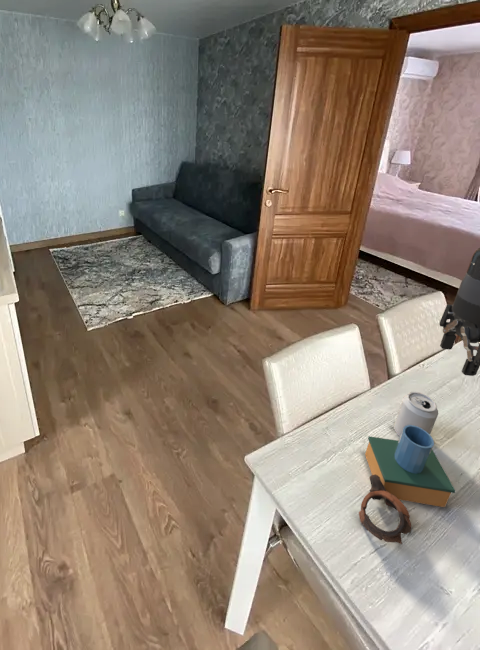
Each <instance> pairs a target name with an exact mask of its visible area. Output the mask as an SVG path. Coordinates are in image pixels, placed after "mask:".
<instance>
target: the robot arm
mask: <svg viewBox="0 0 480 650" xmlns="http://www.w3.org/2000/svg"><path fill="white" fill-rule="evenodd" d="M448 320H449V321H448ZM439 326H440V327H442V333H443V335H442V337H441V341H440V345H439V347H440V348H441V349H442V350H452V349H453V347H454V344H455V342H456V339H457V336H458V337H460V339H461V341H462V343H463V349H465V350H466V357H467V358H466V359H465V361H464V364H463V367H462V368H461V373H462V374H463V375H464V376H469V377H473V376H476V375H477V373H478V372H479V369H480V247H478V248H477V249H475V250H474V252H473V253H472V256H471V259H470V262H469V264H468V266H467V269H466V272H465V275H464V276H463V278H462V280H461V282H460V284H459V287H458V290H457V293H456V295H455V297H454V301H453V304H446V306H445V309H444V311H443V313H442V316H441V318H440V320H439ZM477 343H478V345H472V344H477ZM474 351H476V353H475V354H474Z"/></svg>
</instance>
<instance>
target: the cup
mask: <svg viewBox="0 0 480 650" xmlns="http://www.w3.org/2000/svg"><path fill="white" fill-rule="evenodd" d="M434 446H435V440H434V438H433V437H432V435H431V434H429V433H428V432H426V431H425V430H423V429H422V428H420V427H417V426H414V425H407V426H405V427H404V428H403V430H402V433H401V436H399V438H398V444H397V447H396V450H395V453H394V457H395V460H396V462H397V463H398V464H399V465H400V466H401V467H402V468H403V469H405V470H406V471H408V472H411V473H415V474H418V473H421V472H422V471H423V469H424V467H425V465H426V463H427V460H428V458H429V455H430V453H431V451H432V450H433V448H434Z"/></svg>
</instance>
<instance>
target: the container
mask: <svg viewBox="0 0 480 650" xmlns="http://www.w3.org/2000/svg"><path fill="white" fill-rule="evenodd" d="M367 441H368V444H367V447H366V450H365V453H364V456H365V458H366V461H367V464H368V467H369V469H370V472H371V475H375V474H376V475H378V476H379V477H380V480H381V482H382V484H383V486H384V487H385V489H386V491H388V492H389V493H390V494H393V495H394V496H396V497H397V498H398V499H399V500H400V501H406V502H412V503H418V504H423V505H429V506H433V507H435V506H436V507H439V508H440V507H441V508H446V505H447V503H448V502H449V499H450V497H451V495H452V494H456V488H455V487H454V486H453V483H452V482H451V481H450V479H449V477H448V474H447V472H446V471H445V469H444V467H443V465H442V464H441V462H440V461H439V458H438V456H437V455H436V453H435V452H434V450H433V449H432V451H431V453H430V455H429V458H428V460H427V463H426V465H425V467H424V469H423V471H422V472H421V473H418V474H415V473H411V472H408V471H406V470H405V469H403V468H402V467H401V466H400V465H399V464H398V463H397V462H396V460H395V457H394V453H395V450H396V447H397V444H398V441H399V439H390V438H383V437H378V436H377V437H376V436H370V435H369V436H368V437H367Z"/></svg>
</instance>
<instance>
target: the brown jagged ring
mask: <svg viewBox="0 0 480 650" xmlns="http://www.w3.org/2000/svg"><path fill="white" fill-rule="evenodd" d="M369 481H370V489H369V492H368V493H367V494H366V495H365V496H364V497H363V499H362V501H361V504H360V510H359V511H358V517H359V521H360V523H361V524H362V526H363V527H364V528H365V530H366V531H368V533H370V534H371V535H372V536H374V537H375V538H376V539H378V540H380V541H384V542H387V543H396V544H400V545H403V539H402V538H403V537H402V534H403V535H407V534H411V532H412V522H411V519H410V518H411V514H410V512H409V510H408V508H407V507H406V505H405V504H404V503H403V502H402V500H399V499H398V498H397V497H396V496H394V495H393V494H390V493H389V492H388V491H386V489H385V487H384V486H383V484H382V482H381V480H380V477H379V476H378V475H376V474H375V475H372V474H371V475H370V476H369ZM383 499H384V500H385V506H388V507H390V508H391V509H394V510H395V511H396V512H397V513H398V517H399V522H398V525H397V527H396V528H395V529H393V530H384V529H382V528H380V527H378V526H376V524H374V523H373V521H372V520H371V518H370V517H369V515H368V514H367V511H366V509H367V507H368V503H369V501H370V500H373V501H376V500H377V501H380V500H383Z"/></svg>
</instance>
